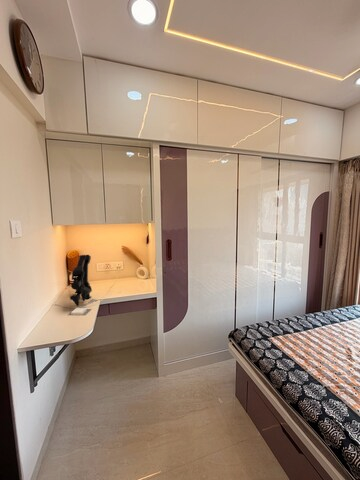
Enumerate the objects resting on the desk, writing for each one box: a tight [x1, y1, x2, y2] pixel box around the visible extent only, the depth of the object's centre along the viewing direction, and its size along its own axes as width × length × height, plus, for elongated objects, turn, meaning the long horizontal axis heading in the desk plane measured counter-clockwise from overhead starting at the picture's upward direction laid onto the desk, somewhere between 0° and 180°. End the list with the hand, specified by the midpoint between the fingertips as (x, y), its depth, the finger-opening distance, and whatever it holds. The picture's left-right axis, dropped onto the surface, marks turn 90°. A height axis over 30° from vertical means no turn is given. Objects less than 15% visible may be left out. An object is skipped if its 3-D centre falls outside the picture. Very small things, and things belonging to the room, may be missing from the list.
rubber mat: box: [67, 308, 93, 316], centre depth 156 cm, size 10×14×1 cm
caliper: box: [73, 298, 98, 310], centre depth 167 cm, size 20×1×6 cm
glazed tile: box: [70, 307, 88, 316], centre depth 154 cm, size 2×8×7 cm
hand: (81, 303), depth 165 cm, fingers open, 9 cm apart
